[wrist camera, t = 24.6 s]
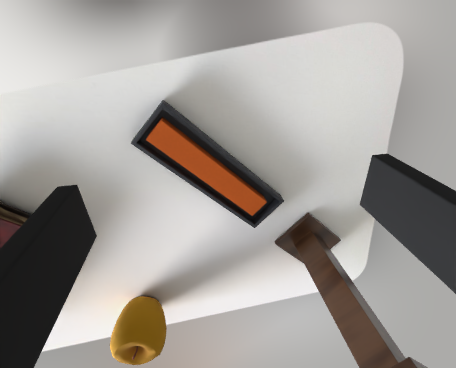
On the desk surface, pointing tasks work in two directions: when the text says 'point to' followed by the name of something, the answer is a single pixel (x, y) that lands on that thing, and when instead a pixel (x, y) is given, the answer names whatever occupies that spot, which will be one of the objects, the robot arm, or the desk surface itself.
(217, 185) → the orange long flat bar
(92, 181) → the desk surface
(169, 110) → the tray
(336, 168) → the desk surface
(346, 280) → the stand
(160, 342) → the apple
